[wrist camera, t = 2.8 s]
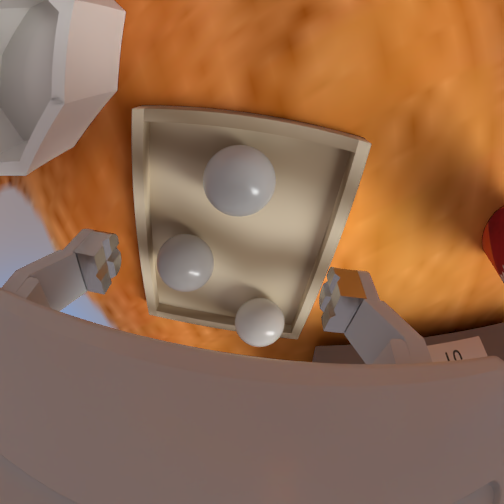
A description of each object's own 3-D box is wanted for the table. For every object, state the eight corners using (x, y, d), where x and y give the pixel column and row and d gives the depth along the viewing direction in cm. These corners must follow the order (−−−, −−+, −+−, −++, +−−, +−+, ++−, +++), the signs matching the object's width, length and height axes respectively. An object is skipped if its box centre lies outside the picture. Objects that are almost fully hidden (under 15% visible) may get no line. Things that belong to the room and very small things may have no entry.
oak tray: (142, 105, 15) (132, 108, 13) (363, 137, 15) (371, 143, 14) (154, 303, 25) (149, 314, 24) (297, 327, 26) (297, 339, 24)
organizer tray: (518, 306, 23) (545, 360, 15) (418, 419, 47) (423, 454, 39) (308, 330, 26) (312, 424, 18) (287, 435, 50) (286, 475, 42)
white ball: (240, 284, 22) (234, 322, 19) (289, 291, 22) (290, 330, 19) (235, 315, 24) (229, 352, 21) (279, 322, 25) (278, 358, 21)
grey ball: (166, 219, 19) (145, 252, 16) (220, 227, 19) (209, 263, 16) (168, 262, 21) (151, 297, 18) (216, 270, 21) (206, 308, 18)
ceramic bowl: (8, 15, 8) (-36, 20, 3) (137, -37, 8) (92, -60, 4) (5, 150, 16) (-35, 176, 12) (117, 147, 16) (69, 177, 12)
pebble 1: (214, 133, 15) (197, 151, 12) (281, 143, 15) (283, 163, 12) (208, 193, 18) (193, 224, 14) (269, 202, 18) (268, 236, 14)
